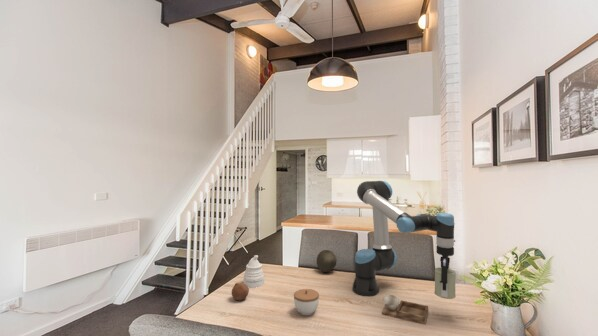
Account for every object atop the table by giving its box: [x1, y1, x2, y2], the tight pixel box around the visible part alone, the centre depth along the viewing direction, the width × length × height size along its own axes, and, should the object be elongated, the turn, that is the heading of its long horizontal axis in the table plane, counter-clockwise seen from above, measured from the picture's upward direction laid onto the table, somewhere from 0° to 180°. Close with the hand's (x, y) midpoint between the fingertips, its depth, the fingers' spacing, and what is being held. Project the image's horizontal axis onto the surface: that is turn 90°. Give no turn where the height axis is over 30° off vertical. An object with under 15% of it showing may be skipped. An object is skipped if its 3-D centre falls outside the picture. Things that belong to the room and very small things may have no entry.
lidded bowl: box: [293, 288, 320, 316], centre depth 146 cm, size 13×13×11 cm
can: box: [433, 267, 457, 300], centre depth 139 cm, size 9×9×12 cm
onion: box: [231, 282, 250, 301], centre depth 161 cm, size 10×9×10 cm
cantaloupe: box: [316, 249, 338, 273], centre depth 203 cm, size 14×14×15 cm
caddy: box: [381, 294, 429, 325], centre depth 144 cm, size 20×13×6 cm, turn 61°
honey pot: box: [243, 254, 265, 289], centre depth 183 cm, size 13×13×18 cm
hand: (444, 292), depth 139 cm, fingers closed on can, 9 cm apart
